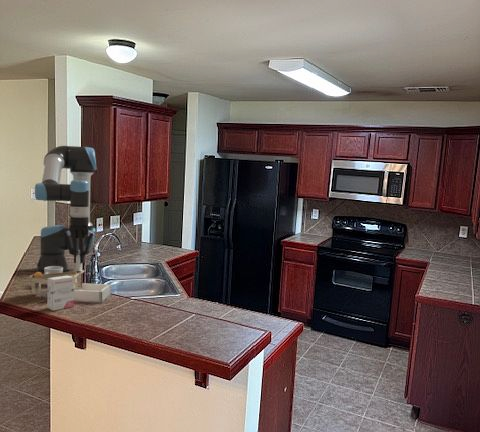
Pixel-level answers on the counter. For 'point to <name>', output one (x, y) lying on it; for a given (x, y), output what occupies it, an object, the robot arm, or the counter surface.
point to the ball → (37, 274)
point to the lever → (36, 281)
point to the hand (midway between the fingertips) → (79, 270)
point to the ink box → (60, 292)
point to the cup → (52, 270)
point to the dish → (92, 293)
